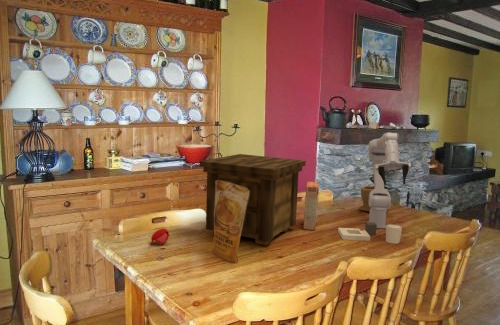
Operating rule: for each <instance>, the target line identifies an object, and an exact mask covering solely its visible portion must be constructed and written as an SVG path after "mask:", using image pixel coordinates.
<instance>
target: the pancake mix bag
mask: <svg viewBox="0 0 500 325" xmlns="http://www.w3.org/2000/svg"><path fill="white" fill-rule="evenodd" d="M249 197H250V191H249V189H248V188H247V187H244V186H240V185H236V184H233V183H230V182H226V181H222V180H217V181H215V208H214V234H213V240H212V241H213V242H212V253H213V254H214V255H216V256H218V257H219V258H221V259H223V260H224V261H225V262H226V261H227V262H228V263H237V264H238V262H239V258H238V250H239V247H240V242H241V237H242V236H241V232H242V227H243V222H244V219H245V213H246V208H247V204H248V201H249Z"/></svg>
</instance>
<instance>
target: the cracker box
mask: <svg viewBox="0 0 500 325" xmlns="http://www.w3.org/2000/svg"><path fill="white" fill-rule="evenodd" d="M319 189H320V182H319V181H307V183H306V188H305V199H304V200H305V201H304V213H303V215H304V217H303V227H302V228H303V230H307V231H316V226H317V218H318V208H319V194H320V190H319Z"/></svg>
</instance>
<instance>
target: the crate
mask: <svg viewBox="0 0 500 325" xmlns="http://www.w3.org/2000/svg"><path fill="white" fill-rule="evenodd" d="M306 163H307V160H301V159H294V158H293V159H292V158H282V157H272V156H262V155H252V154H244V153H238V154H232V155H227V156H222V157H216V158H210V159H204V160H200V161H199V167H201V168H203V170H202V172H203V173H206V202H205V203H206V206H205V207H206V208H205V209H206V211H205V230H206V231H212V234H213V235H214V208H215V181H217V180H222V181H226V182H230V183H233V184H236V185H240V186H244V187H247V188H248V189H249V191H250V197H249V201H248V204H247V208H246V213H245V219H244V222H243V227H242V232H241V236H240V237H246V238H249V239H251V238H252V239H255V242H254V243H255V244H257V245H264V246H267V245H268V244H269V243H271V241H273V240H274V238H275V236H277V235H279V234H280V233H281V232H283V233H286V232H288V231H290V227H291V228H292V227H294V226H296V225H297V209H298V208H297V207H298V193H299V192H298V189H299V174H300V173H299V172H303V167H305V166H306V165H307V164H306Z"/></svg>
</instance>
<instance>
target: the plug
mask: <svg viewBox="0 0 500 325" xmlns="http://www.w3.org/2000/svg"><path fill="white" fill-rule="evenodd" d="M377 229H378V228H377V225H376V224H375V223H374V222H369V221H366V222H365V231H366V232H367V233H368V234H369V235H370V236H377Z"/></svg>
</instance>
